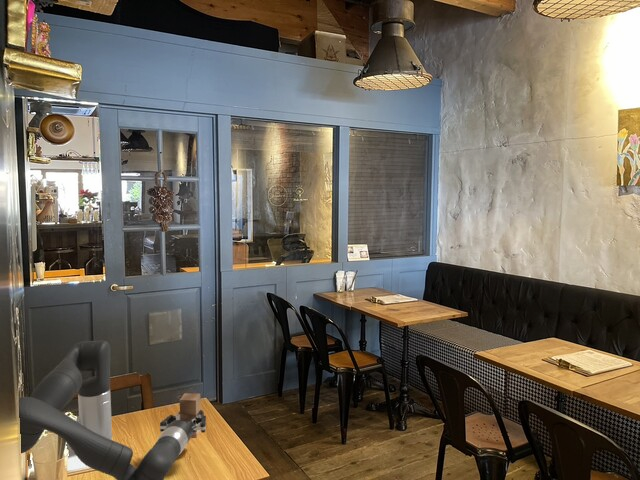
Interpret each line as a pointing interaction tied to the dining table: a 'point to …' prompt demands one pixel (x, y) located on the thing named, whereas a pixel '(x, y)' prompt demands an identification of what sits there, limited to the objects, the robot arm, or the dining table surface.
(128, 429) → the dining table surface
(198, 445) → the dining table surface
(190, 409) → the walnut block
